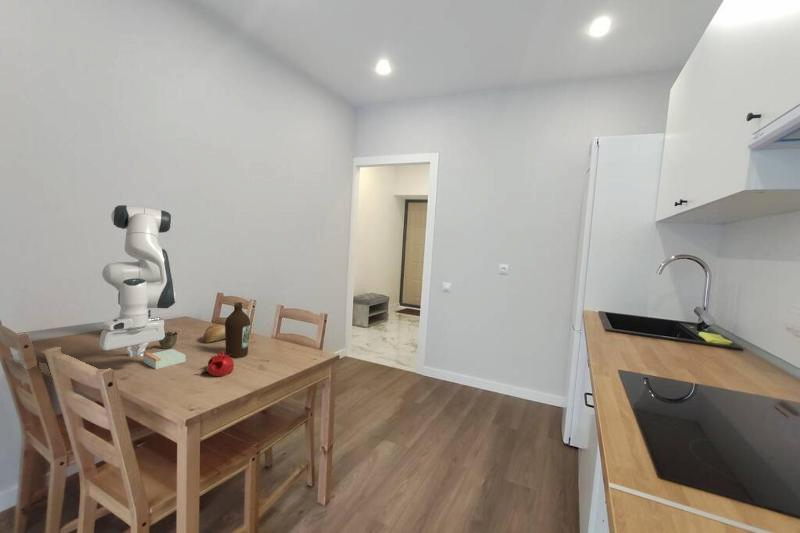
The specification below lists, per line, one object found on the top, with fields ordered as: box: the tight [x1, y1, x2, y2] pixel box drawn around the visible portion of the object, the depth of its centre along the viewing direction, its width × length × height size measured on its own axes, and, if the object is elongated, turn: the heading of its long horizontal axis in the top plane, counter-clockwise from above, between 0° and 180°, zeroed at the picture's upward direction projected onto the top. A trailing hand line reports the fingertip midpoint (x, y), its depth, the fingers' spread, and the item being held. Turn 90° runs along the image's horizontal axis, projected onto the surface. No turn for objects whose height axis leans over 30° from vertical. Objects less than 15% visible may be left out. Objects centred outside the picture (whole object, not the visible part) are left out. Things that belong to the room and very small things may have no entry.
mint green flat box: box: [143, 348, 187, 370], centre depth 141 cm, size 11×11×4 cm
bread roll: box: [203, 324, 225, 343], centre depth 177 cm, size 10×15×8 cm, turn 156°
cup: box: [158, 331, 178, 350], centre depth 158 cm, size 8×7×8 cm
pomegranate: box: [206, 350, 235, 377], centre depth 137 cm, size 10×10×9 cm
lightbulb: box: [132, 342, 150, 357], centre depth 146 cm, size 6×6×11 cm
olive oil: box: [224, 301, 251, 359], centre depth 157 cm, size 11×11×25 cm
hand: (134, 355), depth 131 cm, fingers closed
